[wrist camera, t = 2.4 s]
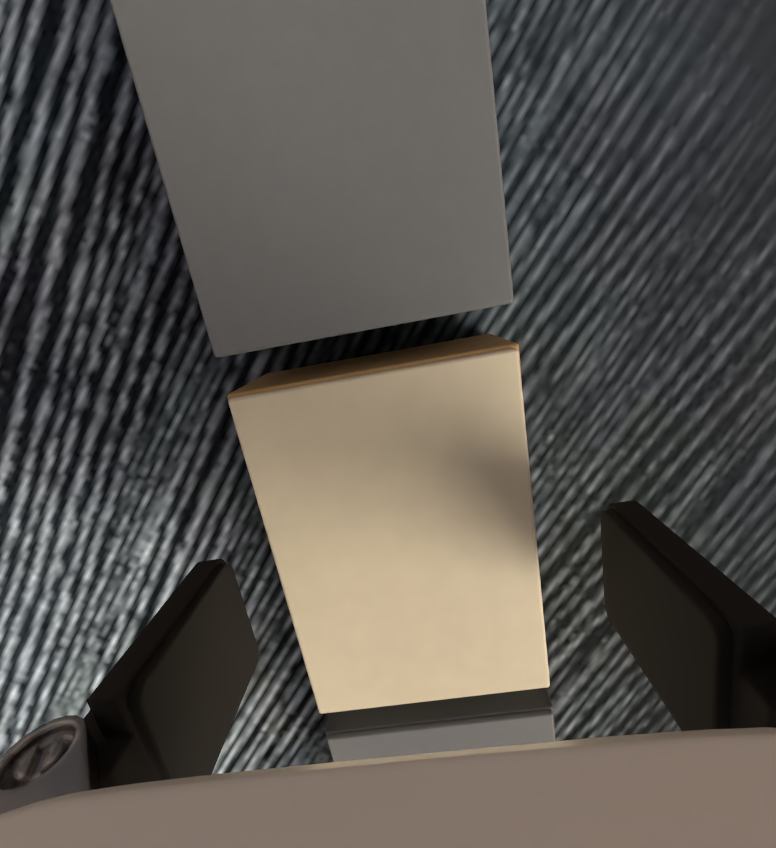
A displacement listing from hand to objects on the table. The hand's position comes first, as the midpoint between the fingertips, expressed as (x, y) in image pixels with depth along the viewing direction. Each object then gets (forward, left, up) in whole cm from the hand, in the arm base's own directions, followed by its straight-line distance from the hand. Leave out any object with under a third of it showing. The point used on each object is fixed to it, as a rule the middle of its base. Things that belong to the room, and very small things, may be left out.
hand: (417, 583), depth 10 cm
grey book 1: (-11, 0, -4) cm, 12 cm away
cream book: (0, 0, -4) cm, 4 cm away
